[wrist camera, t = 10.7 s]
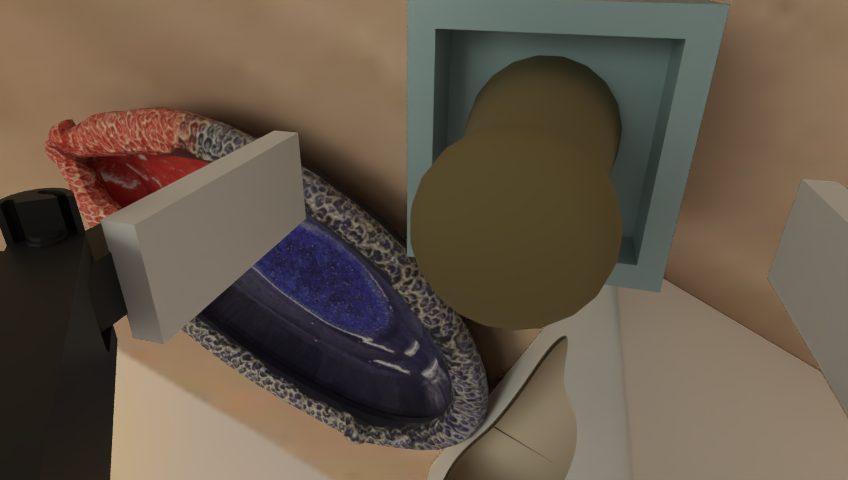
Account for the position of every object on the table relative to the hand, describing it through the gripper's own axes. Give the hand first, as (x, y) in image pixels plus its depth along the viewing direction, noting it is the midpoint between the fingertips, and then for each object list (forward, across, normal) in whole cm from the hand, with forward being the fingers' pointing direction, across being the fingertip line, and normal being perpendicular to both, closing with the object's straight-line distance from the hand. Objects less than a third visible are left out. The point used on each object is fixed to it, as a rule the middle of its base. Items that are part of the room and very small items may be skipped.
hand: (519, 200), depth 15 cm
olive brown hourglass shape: (+8, 0, 0) cm, 8 cm away
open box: (+14, 0, 0) cm, 14 cm away
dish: (+14, -15, -11) cm, 24 cm away
